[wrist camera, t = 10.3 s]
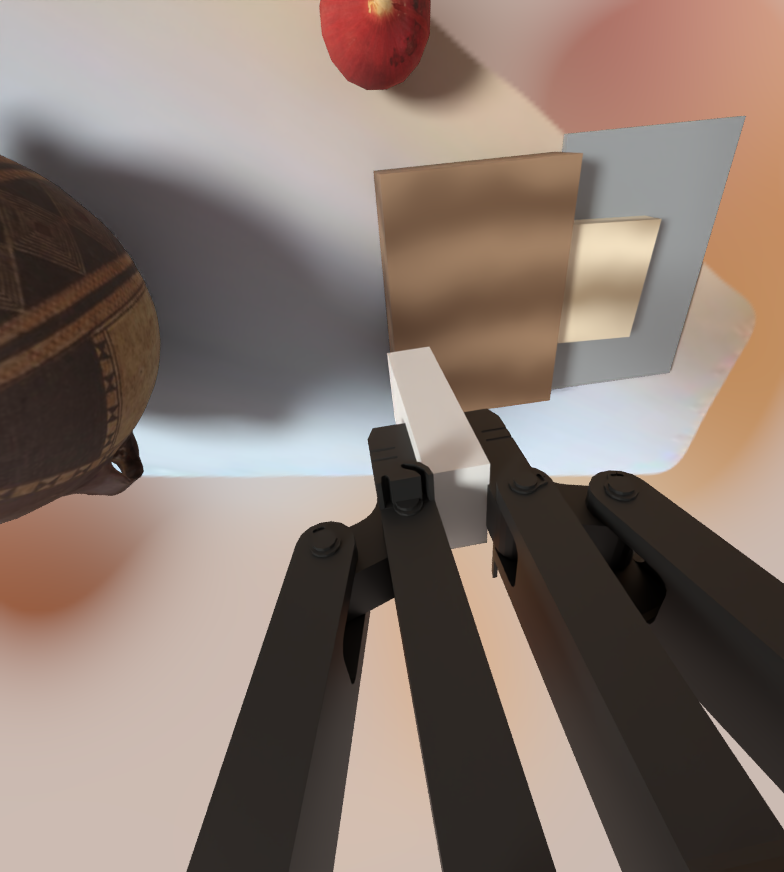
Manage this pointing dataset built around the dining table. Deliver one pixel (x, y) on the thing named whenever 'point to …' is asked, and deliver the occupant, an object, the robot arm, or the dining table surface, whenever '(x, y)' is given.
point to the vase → (67, 348)
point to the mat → (676, 240)
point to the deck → (480, 269)
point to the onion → (375, 38)
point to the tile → (606, 276)
